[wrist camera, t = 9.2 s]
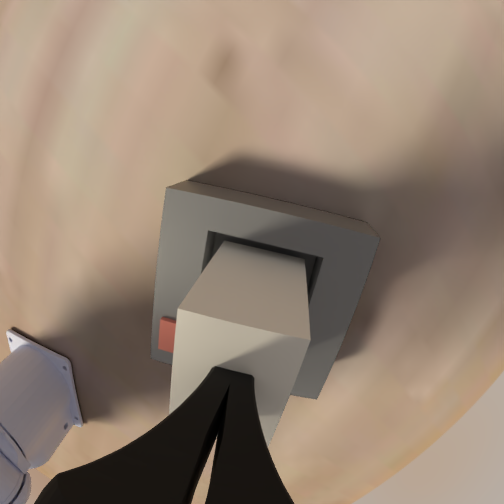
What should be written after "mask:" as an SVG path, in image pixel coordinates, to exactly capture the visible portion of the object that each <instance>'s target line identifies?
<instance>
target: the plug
mask: <svg viewBox="0 0 504 504" xmlns="http://www.w3.org/2000/svg"><path fill="white" fill-rule="evenodd" d="M310 340H311V339H310V323H309V308H308V294H307V282H306V269H305V259H302V258H298V257H294V256H289V255H285V254H281V253H276V252H272V251H268V250H264V249H259V248H255V247H251V246H246V245H242V244H238V243H233V242H229V241H225V240H224V242H223V243H222V245H221V246H220V248H219V249H218V250H217V252H216V253H215V255H214V256H213V258H212V259H211V260H210V262H209V263H208V265H207V266H206V268H205V269H204V271H203V272H202V273H201V275H200V276H199V278H198V279H197V281H196V282H195V284H194V285H193V286H192V288H191V289H190V291H189V292H188V294H187V295H186V297H185V298H184V300H183V301H182V303H181V304H180V306H179V307H178V310H177V319H176V329H175V340H174V351H173V363H172V376H171V390H170V406H169V415H170V414H171V413H172V412H173V411H174V410H175V409H176V408H178V407H179V406H180V405H181V404H182V403H183V402H184V401H185V400H186V399H187V398H188V397H189V396H190V395H191V394H192V393H193V391H194V390H195V389H196V388H197V387H198V386H199V385H200V384H201V382H202V381H203V380H204V379H205V377H206V376H207V374H208V373H209V372H210V370H211V368H212V367H215V366H217V367H221V368H225V369H229V370H233V371H237V372H241V373H246V374H250V375H252V376H253V377H254V388H255V398H256V404H257V410H258V414H259V419H260V423H261V427H262V431H263V434H264V438H265V441H266V444H267V447H268V446H269V444H270V441H271V439H272V437H273V434H274V432H275V430H276V427H277V425H278V423H279V420H280V418H281V416H282V413H283V411H284V408H285V406H286V403H287V401H288V398H289V396H290V393H291V391H292V388H293V386H294V383H295V381H296V378H297V375H298V373H299V370H300V367H301V365H302V362H303V359H304V357H305V354H306V351H307V349H308V346H309V343H310ZM217 436H218V435H217Z"/></svg>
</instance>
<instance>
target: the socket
mask: <svg viewBox="0 0 504 504" xmlns="http://www.w3.org/2000/svg"><path fill="white" fill-rule="evenodd" d="M224 240H225V241H229V242H233V243H238V244H242V245H246V246H251V247H255V248H259V249H264V250H268V251H272V252H276V253H281V254H285V255H289V256H294V257H298V258H302V259H305V269H306V282H307V294H308V308H309V323H310V339H311V340H310V343H309V346H308V349H307V351H306V354H305V357H304V359H303V362H302V365H301V367H300V370H299V373H298V375H297V378H296V381H295V383H294V386H293V388H292V391H291V393H290V395H294V396H300V397H305V398H311V399H317V398H318V396H319V394H320V392H321V390H322V388H323V385H324V383H325V381H326V379H327V377H328V374H329V372H330V370H331V368H332V365H333V363H334V361H335V359H336V356H337V354H338V352H339V349H340V347H341V344H342V342H343V340H344V337H345V335H346V332H347V330H348V327H349V325H350V322H351V320H352V317H353V315H354V312H355V309H356V307H357V304H358V302H359V299H360V296H361V293H362V291H363V288H364V285H365V282H366V280H367V277H368V274H369V271H370V268H371V265H372V262H373V259H374V256H375V253H376V250H377V247H378V244H379V241H380V237H379V236H378V235H377V233H376V232H375V231H374V230H373V229H372V228H371V227H370V226H369V224H368V223H367V222H363V221H360V220H356V219H352V218H348V217H345V216H341V215H337V214H333V213H329V212H325V211H321V210H317V209H313V208H309V207H305V206H301V205H297V204H293V203H289V202H285V201H281V200H276V199H272V198H268V197H263V196H259V195H255V194H250V193H246V192H241V191H236V190H232V189H227V188H222V187H218V186H213V185H208V184H203V183H198V182H193V181H188V180H186V181H183V182H180V183H177V184H175V185H172V186H169V187H166V193H165V200H164V207H163V214H162V222H161V231H160V239H159V248H158V258H157V268H156V279H155V291H154V304H153V319H152V337H151V359H154V360H157V361H160V362H163V363H166V364H169V365H172V363H173V351H174V340H175V329H176V319H177V310H178V307H179V306H180V304H181V303H182V301H183V300H184V298H185V297H186V295H187V294H188V292H189V291H190V289H191V288H192V286H193V285H194V284H195V282H196V281H197V279H198V278H199V276H200V275H201V273H202V272H203V271H204V269H205V268H206V266H207V265H208V263H209V262H210V260H211V259H212V258H213V256H214V255H215V253H216V252H217V250H218V249H219V248H220V246H221V245H222V243H223V242H224Z"/></svg>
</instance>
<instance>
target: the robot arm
mask: <svg viewBox="0 0 504 504" xmlns="http://www.w3.org/2000/svg"><path fill="white" fill-rule="evenodd" d="M6 334H7V338H8V342H9V346H10V350H11V354H10V355H9V356H7V357H6V358H5V359H4V360H3V361H2V362H1V363H0V504H25V503H26V502H27V500H28V498H29V495H30V492H31V477H30V474H29V473H28V472H27V471H28V469H30V468H31V469H32V468H37V467H39V466H42V465H43V464H45V463H46V462H47V461H48V460H49V459H50V458H51V456H52V455H53V453H54V452H55V450H56V449H57V447H58V446H59V445H60V443H61V442H62V440H63V439H64V437H65V436H66V434H67V433H68V432H69V430H70V429H71V427H72V426H73V425H76V426H78V427H82V426H83V421H82V417H81V413H80V408H79V404H78V399H77V395H76V390H75V385H74V379H73V374H72V368H71V363H70V361H69V360H68V359H67V358H66V357H63V356H61V355H59V354H57V353H55V352H53V351H51V350H49V349H47V348H45V347H43V346H41V345H39V344H37V343H35V342H33V341H31V340H29V339H27V338H25V337H24V336H22V335H20V334H18V333H16V332H14V331H13V330H11V329H9V330H7V332H6ZM217 435H218V436H217ZM216 437H217V442H216V448H215V454H214V460H213V466H212V473H211V479H210V485H209V490H208V494H207V498H206V502H205V504H294V502H293V500H292V499H291V497H290V495H289V493H288V492H287V490H286V488H285V487H284V485H283V483H282V481H281V478H280V476H279V474H278V472H277V470H276V468H275V465H274V463H273V461H272V458H271V455H270V453H269V450H268V447H267V444H266V441H265V438H264V434H263V431H262V427H261V423H260V419H259V414H258V410H257V404H256V398H255V388H254V377H253V376H252V375H250V374H246V373H241V372H237V371H233V370H229V369H225V368H221V367H217V366H215V367H212V368H211V370H210V372H209V373H208V374H207V376H206V377H205V379H204V380H203V381H202V382H201V384H200V385H199V386H198V387H197V388H196V389H195V390H194V391H193V393H192V394H191V395H190V396H189V397H188V398H187V399H186V400H185V401H184V402H183V403H182V404H181V405H180V406H179V407H178V408H176V409H175V410H174V411H173V412H172V413H171V414H170V415H169V416H167V417H166V418H165V419H164V420H163V421H161V422H160V423H159V424H158V425H156V426H155V427H154V428H152V429H151V430H149V431H148V432H147V433H145V434H144V435H142V436H141V437H139V438H137V439H136V440H134V441H133V442H131V443H129V444H128V445H126V446H124V447H122V448H121V449H119V450H117V451H115V452H113V453H111V454H109V455H106V456H104V457H102V458H100V459H98V460H96V461H93V462H91V463H88V464H86V465H83V466H80V467H77V468H74V469H71V470H68V471H65V472H62V473H59V474H57V475H56V476H55V477H54V478H53V479H52V480H51V481H50V482H49V483H48V484H47V485H46V487H45V488H44V489H43V490H42V492H41V493H40V495H39V497H38V498H37V500H36V501H35V503H34V504H191V502H192V499H193V495H194V492H195V489H196V487H197V484H198V481H199V479H200V476H201V474H202V472H203V469H204V467H205V464H206V462H207V459H208V457H209V454H210V452H211V450H212V447H213V445H214V442H215V440H216Z"/></svg>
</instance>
